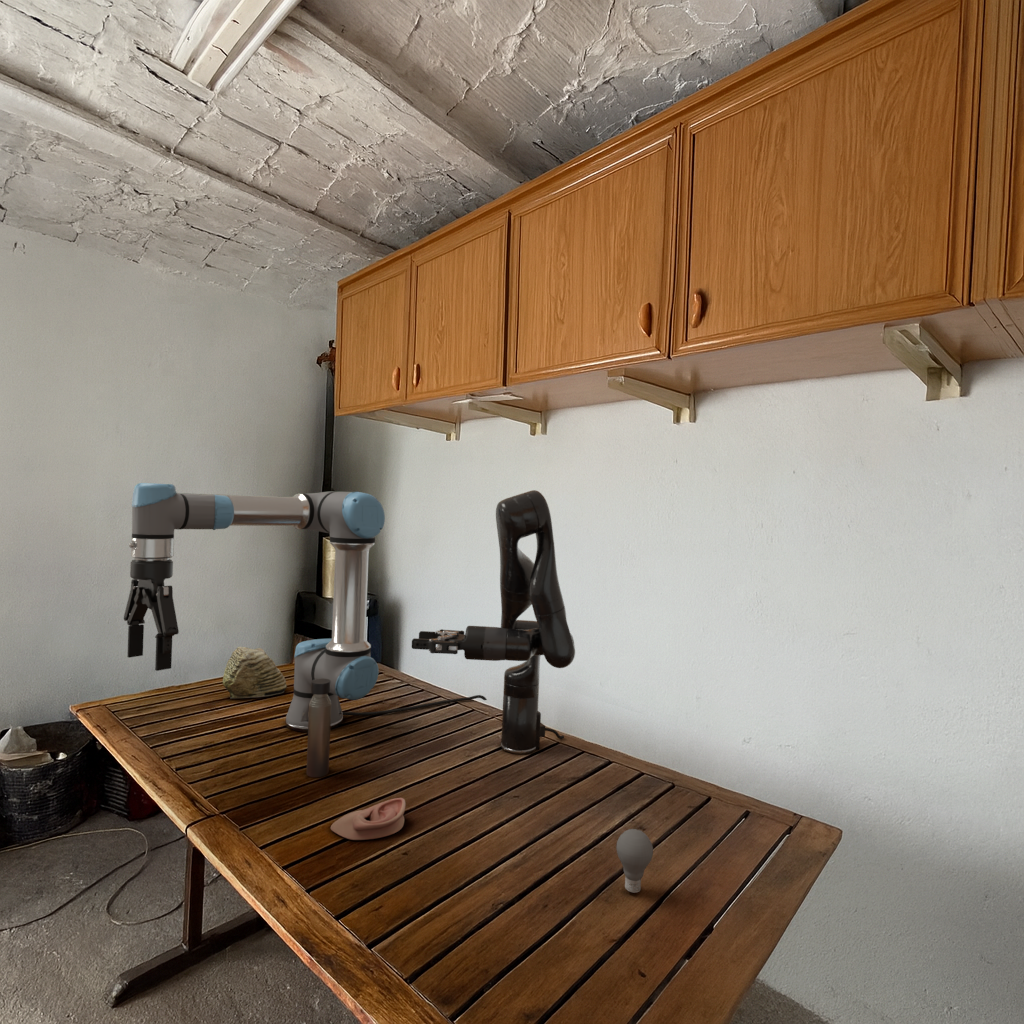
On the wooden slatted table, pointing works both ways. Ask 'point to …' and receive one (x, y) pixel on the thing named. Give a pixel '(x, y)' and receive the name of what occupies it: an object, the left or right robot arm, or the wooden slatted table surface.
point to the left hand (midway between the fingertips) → (148, 662)
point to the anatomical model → (372, 821)
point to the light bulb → (634, 857)
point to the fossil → (252, 674)
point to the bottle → (318, 736)
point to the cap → (320, 686)
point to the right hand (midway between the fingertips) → (415, 639)
